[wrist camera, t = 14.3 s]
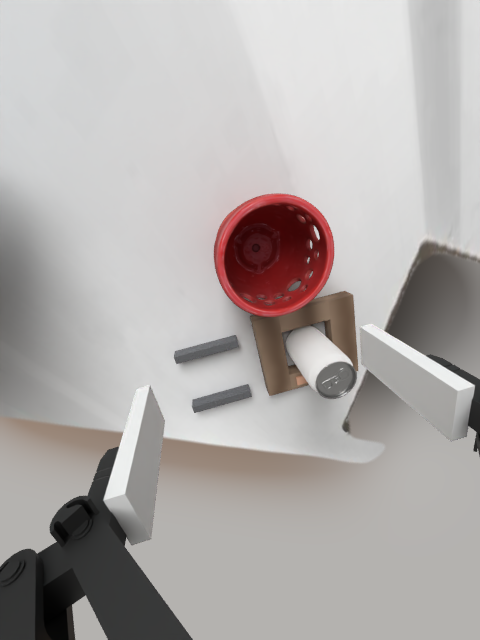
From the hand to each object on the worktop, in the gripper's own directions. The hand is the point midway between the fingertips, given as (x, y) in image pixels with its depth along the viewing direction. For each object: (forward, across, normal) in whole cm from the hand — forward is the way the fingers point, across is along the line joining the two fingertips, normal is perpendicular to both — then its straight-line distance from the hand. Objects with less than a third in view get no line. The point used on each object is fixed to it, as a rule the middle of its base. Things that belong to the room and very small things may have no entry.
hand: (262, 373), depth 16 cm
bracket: (+26, -4, -15) cm, 30 cm away
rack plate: (+25, +12, -14) cm, 31 cm away
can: (+26, +11, -14) cm, 31 cm away
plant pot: (+26, +6, +3) cm, 27 cm away
